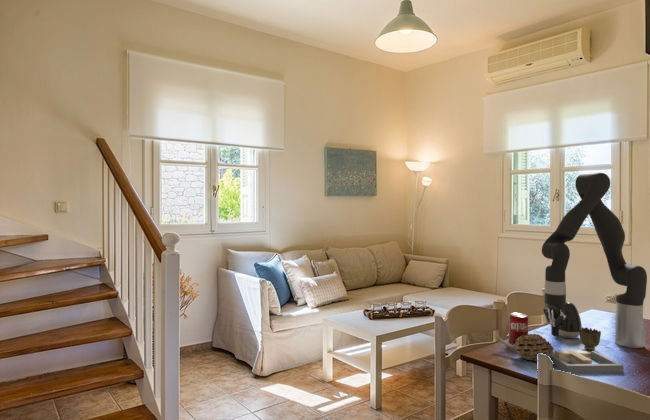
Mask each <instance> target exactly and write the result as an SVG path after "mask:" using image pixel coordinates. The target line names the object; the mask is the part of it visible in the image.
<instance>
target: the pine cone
mask: <svg viewBox="0 0 650 420" xmlns="http://www.w3.org/2000/svg"><path fill="white" fill-rule="evenodd" d="M495 338H496V340H497V341H498V342H499V343H500V344H503V345H505V346H506V347H509V348H510V349H513V350H514V351H515V352H517V356H518V357H519V358H520V359H525V360H527V361H529V360H530V361H532V360H533V361H535V362H537V361H538V360H537V354H538V353H543V354H546V355H547V356H549V357H551V356H552V355H554V351H555V348H554V347H553V345H552V343H551V342H550V341H547V340H546V338H545V337H543V336H542V335H540V334H538V333H537V334H536V333H531V334H530V333H528V336H526V335H524V336H523V335H522V336H521V337H519V338H518V339H516V342H515V345H512V344H510V342H507V341H505V340H504V339H502V338H501V337H500V336H498V335H497V334H496V335H495Z"/></svg>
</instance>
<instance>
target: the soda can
mask: <svg viewBox="0 0 650 420" xmlns="http://www.w3.org/2000/svg"><path fill="white" fill-rule="evenodd" d="M522 335H523V336H524V335H526V336H528V335H529V316H528V315H527V314H525V313H520V312H511V313H510V314H509V315H508V343H509V344H510V343H511V344H513V345H515V342H516V339H518V338H519V337H521V336H522Z"/></svg>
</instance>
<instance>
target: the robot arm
mask: <svg viewBox="0 0 650 420" xmlns="http://www.w3.org/2000/svg"><path fill="white" fill-rule="evenodd" d="M574 182H575V190H576V191H577V194H578V196H579V198H580V199H581V200H579V202H578V203H577V204H576V205H574V206H573V207H572V208H571V209H570V210H569V211H567V212H566V214H564V215H563V217H562V218H561V220H560V222H559V224H558V225H557V227H556V229H555V231H554V232H552V233H551V235H550V236H548V238H547V239H546V240H545V241H544V243H543V244H542V246H541V254H542V256H543V257H544V258H546V259H549V260H551V264H550V265H547V266H546V267H545V269H544V270H545V271H544V272H545V275H544V278H545V279H544V281H545V282H544V303H545V304H546V308H543V313H544V315H545V318H546V321H547V323H548V324H549V326H551V327H550V328H551V329H550V331H551V336H553V337H559V336H560V335H559V327H560V326H563V325H564V323H565V322H566V320H567V318H568V317H567V316H565V315H564V314H563V312H564V310H563V306H564V305H566V302H567V285H566V271H567V267H568V264H569V260H570V256H571V253H570V249H569V247H568V245H567V244H566V242H570V241H571V242H572V241H573V240H574V239H575V237H576V235H577V234H578V232H579V230H580V228H581V227H582V225H583V223H584V222H585V220H586V219H587V218H588V216H589V217H590V220H591V222H592V224H593V227H594V229H595V232H596V234H597V237H598V240H599V241H600V243H601V246H602V249H603V253H604V255H605V258H606V260H607V264H608V268H609V271H610V276H611V278H612V280H613V282H614V283H615V284H617V285H619V286H623V287H626V291H625V292H624V293H620V294H617V295H616V296H615V331H614V333H615V335H614V343H615V344H616V345H618V346H621V347H625V348H633V349H640V348H645V346H646V323H645V322H644V301H645V299H646V296H647V295H646V294H647V286H648V285H647V284H648V274H647V271H646V269H645V268H644V267H643V266H640V265H635V264H629V263H627V262H626V261H625V260H626V259H625V257H624V256H623V247H624V243H625V240H626V233H625V230H624V227H623V225H622V223H621V220H620V219H619V217H617V215H616V214H615V213H614V212H613V211H612V210H611V209H609V208H608V206H606V204H604V202H603V200H602V199H603V198H604V196H605V195H606V194H607V193H608V191H609V189H610V188H611V179H610V177H609V175H608V174H606V173H605V172H585V173H581V174H579V175H578V176H577V177H576V179H575V181H574Z"/></svg>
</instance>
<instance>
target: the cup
mask: <svg viewBox="0 0 650 420" xmlns="http://www.w3.org/2000/svg"><path fill="white" fill-rule="evenodd" d="M579 333H580V335H579V339H580V342H581V344H582V345H583V347H584V350H585V351H587V352H591V351H595V350H596V347H598V346H599V344H600V340H601V335H602V331H601V330H598V329H595V328H594V329H592V328H590V327H587V326H586V327H583V326H582V330H580V328H579Z"/></svg>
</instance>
